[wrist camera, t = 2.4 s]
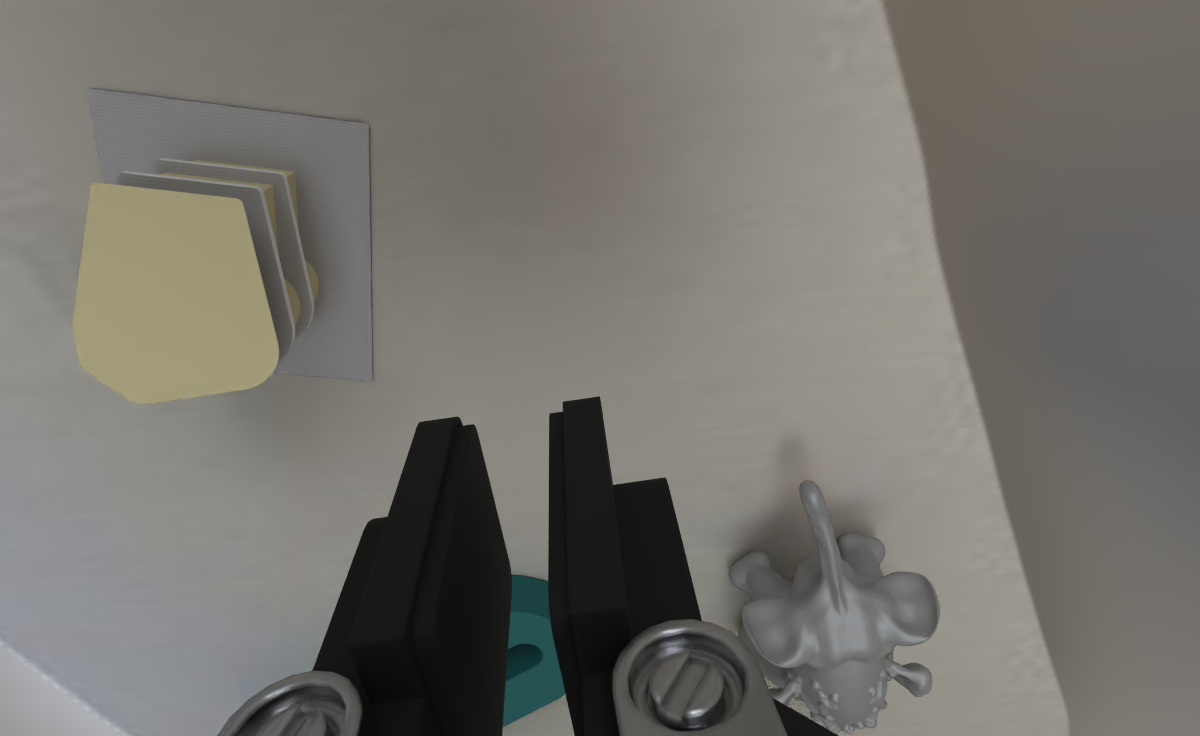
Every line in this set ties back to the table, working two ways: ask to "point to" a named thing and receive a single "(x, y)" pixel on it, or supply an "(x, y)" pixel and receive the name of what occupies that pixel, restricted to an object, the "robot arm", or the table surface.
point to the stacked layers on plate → (222, 249)
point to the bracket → (530, 652)
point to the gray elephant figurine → (835, 623)
